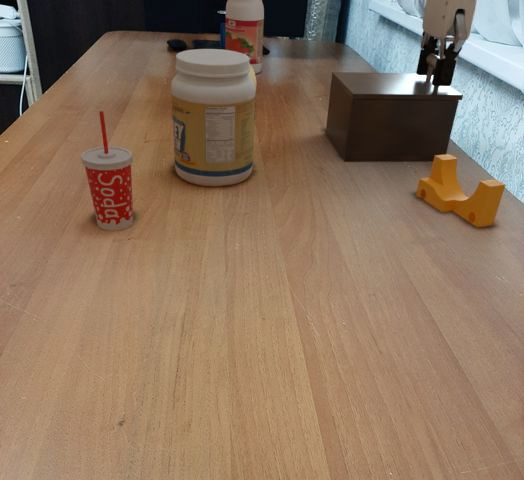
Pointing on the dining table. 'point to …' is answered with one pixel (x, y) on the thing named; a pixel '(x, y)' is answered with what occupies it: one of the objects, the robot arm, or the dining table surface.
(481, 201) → the pipe clamp
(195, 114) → the supplement tub
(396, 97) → the chest lid
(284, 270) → the dining table surface
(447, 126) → the chest
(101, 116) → the beverage cup
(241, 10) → the fruit juice
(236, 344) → the dining table surface
